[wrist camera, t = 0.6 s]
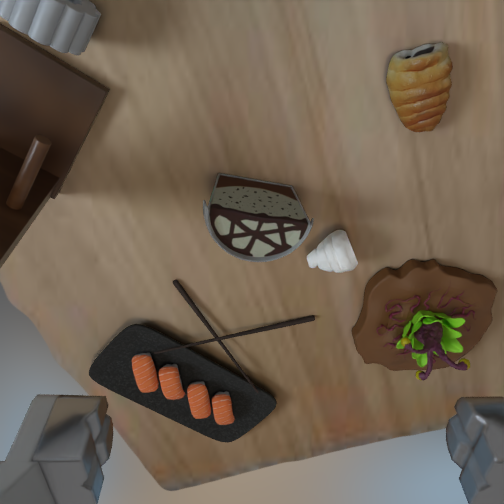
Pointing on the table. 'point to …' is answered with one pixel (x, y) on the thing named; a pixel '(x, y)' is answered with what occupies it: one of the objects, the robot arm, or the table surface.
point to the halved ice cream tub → (255, 218)
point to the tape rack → (38, 130)
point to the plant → (423, 317)
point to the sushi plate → (184, 379)
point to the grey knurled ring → (53, 21)
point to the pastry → (420, 85)
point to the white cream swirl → (333, 254)
